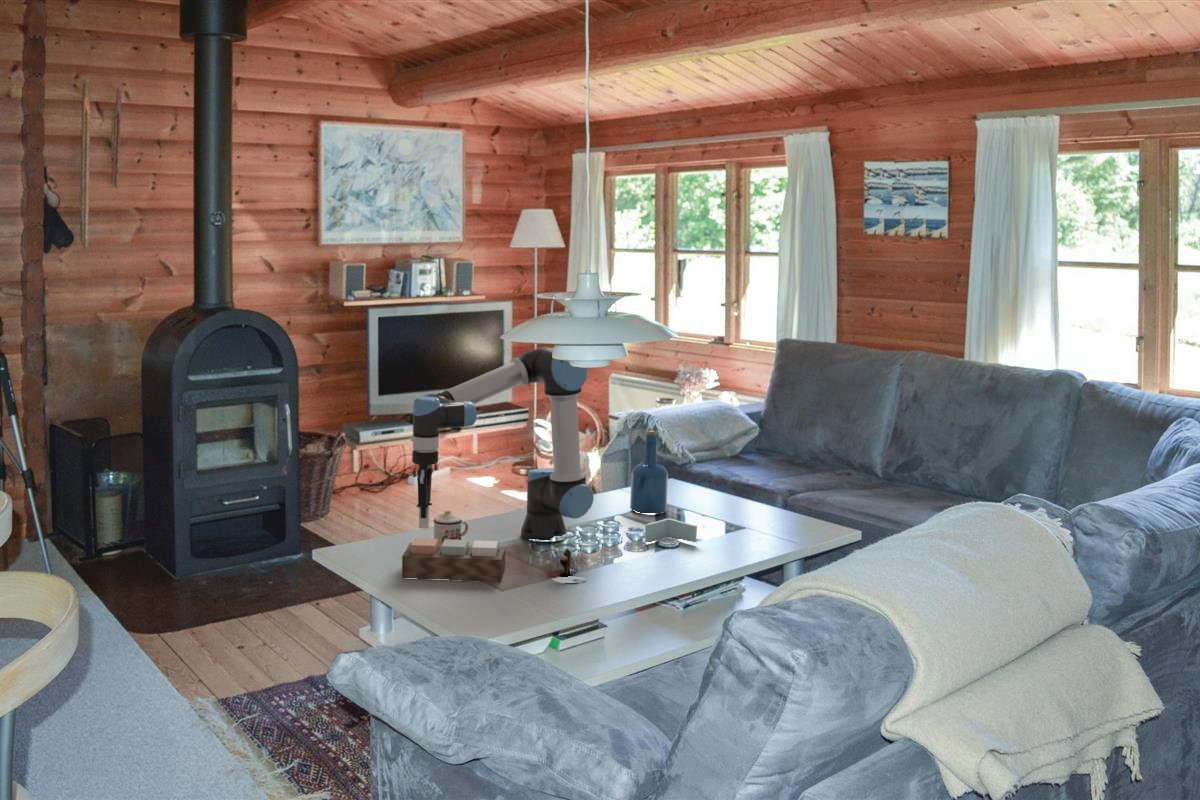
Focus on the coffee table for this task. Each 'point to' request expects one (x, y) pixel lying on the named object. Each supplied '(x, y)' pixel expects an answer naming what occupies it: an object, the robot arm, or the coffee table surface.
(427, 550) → the pink square block
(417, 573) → the frame
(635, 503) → the wine bottle
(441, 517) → the teacup with lid
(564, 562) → the figurine
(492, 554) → the cream key
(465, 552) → the slate key
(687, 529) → the right angle wall
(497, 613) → the coffee table surface
